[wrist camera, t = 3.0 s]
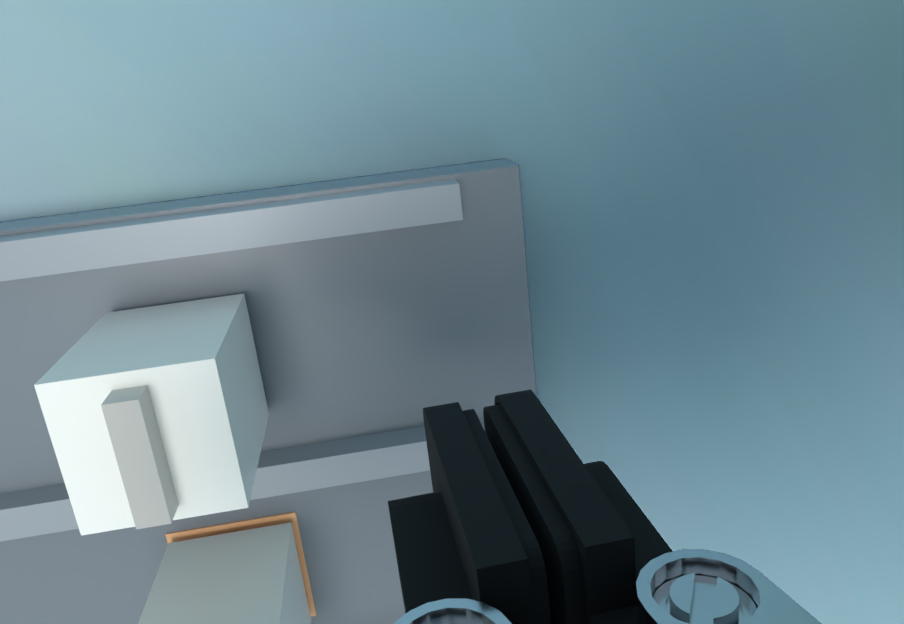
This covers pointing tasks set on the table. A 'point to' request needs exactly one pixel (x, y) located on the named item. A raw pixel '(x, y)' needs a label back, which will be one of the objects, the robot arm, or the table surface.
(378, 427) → the grey compartment tray
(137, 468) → the white block
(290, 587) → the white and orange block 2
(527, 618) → the robot arm
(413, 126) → the table surface
